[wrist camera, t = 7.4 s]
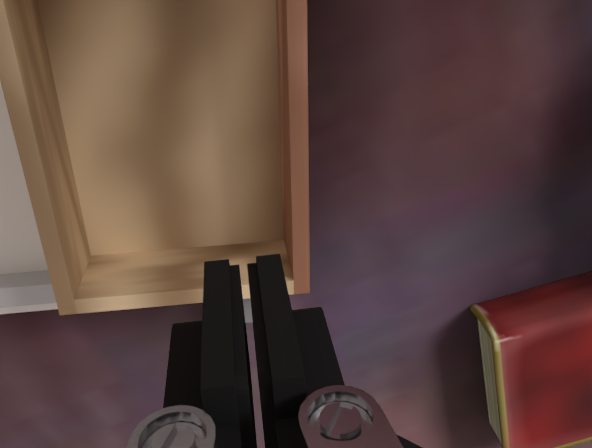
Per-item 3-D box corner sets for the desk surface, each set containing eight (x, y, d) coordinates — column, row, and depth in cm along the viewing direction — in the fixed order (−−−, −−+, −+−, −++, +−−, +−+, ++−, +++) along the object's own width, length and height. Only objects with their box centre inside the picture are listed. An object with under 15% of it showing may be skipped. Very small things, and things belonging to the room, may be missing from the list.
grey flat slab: (245, -144, 25) (250, -159, 21) (266, 281, 35) (272, 320, 31) (-175, -142, 23) (-246, -157, 19) (-26, 306, 33) (-55, 351, 29)
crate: (289, -68, 25) (306, -70, 21) (296, 244, 33) (309, 292, 28) (9, -63, 24) (-37, -64, 20) (81, 262, 31) (59, 315, 27)
